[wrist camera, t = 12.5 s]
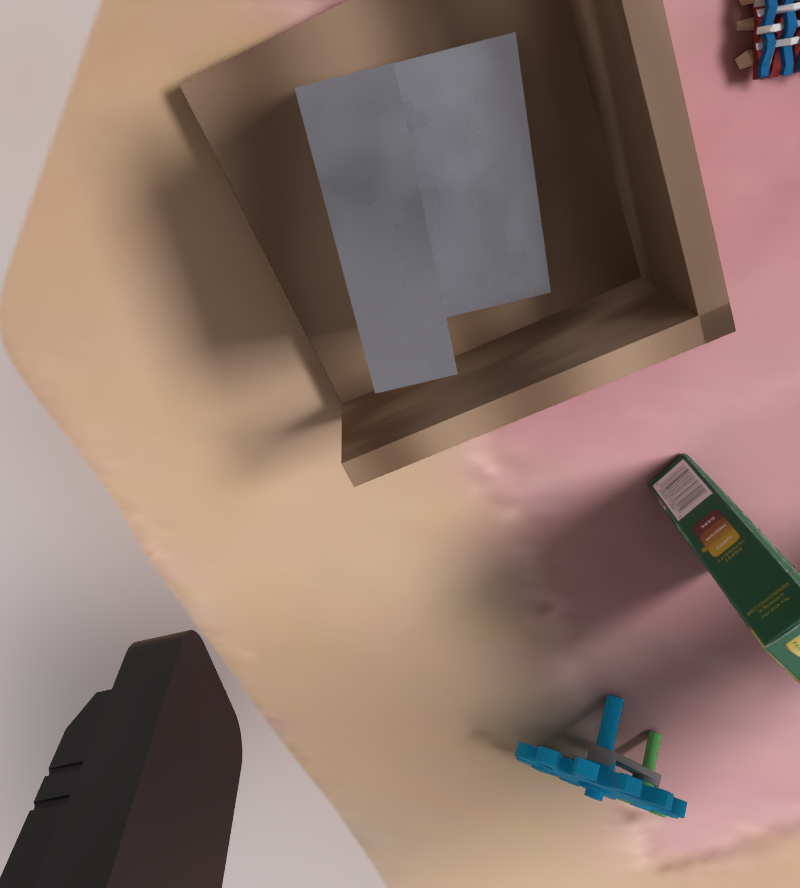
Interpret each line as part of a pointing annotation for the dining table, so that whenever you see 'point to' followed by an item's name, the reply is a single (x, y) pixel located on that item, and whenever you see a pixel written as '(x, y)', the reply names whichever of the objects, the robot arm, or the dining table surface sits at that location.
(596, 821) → the dining table surface
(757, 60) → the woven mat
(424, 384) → the corner arena
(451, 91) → the bracket
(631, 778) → the gear
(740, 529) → the coffee box
